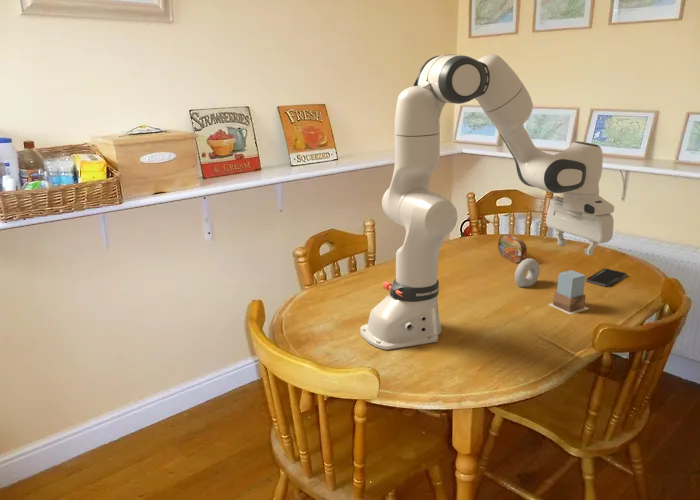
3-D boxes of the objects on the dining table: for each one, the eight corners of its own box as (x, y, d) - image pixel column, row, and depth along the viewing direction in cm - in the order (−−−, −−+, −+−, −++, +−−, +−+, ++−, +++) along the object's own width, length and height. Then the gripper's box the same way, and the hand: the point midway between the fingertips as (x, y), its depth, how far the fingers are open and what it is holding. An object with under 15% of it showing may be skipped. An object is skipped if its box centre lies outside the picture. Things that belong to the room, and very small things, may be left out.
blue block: (570, 298, 156) (572, 278, 155) (556, 292, 161) (558, 273, 159) (583, 294, 159) (585, 275, 157) (569, 289, 163) (571, 270, 161)
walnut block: (569, 312, 157) (570, 299, 156) (553, 304, 162) (554, 292, 161) (584, 308, 160) (585, 295, 158) (567, 300, 165) (569, 288, 163)
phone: (585, 279, 182) (604, 268, 192) (584, 282, 183) (604, 271, 192) (609, 285, 177) (628, 273, 187) (609, 288, 177) (627, 276, 187)
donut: (519, 293, 174) (522, 263, 171) (511, 289, 177) (513, 260, 174) (540, 286, 179) (543, 257, 176) (531, 283, 182) (534, 254, 179)
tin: (496, 253, 212) (498, 232, 209) (504, 252, 213) (505, 231, 210) (519, 266, 198) (521, 243, 196) (527, 264, 199) (529, 242, 196)
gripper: (543, 196, 159) (538, 242, 163) (603, 210, 141) (596, 262, 146) (559, 193, 161) (554, 239, 166) (620, 207, 144) (613, 258, 148)
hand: (574, 249), depth 155 cm, fingers open, 8 cm apart
